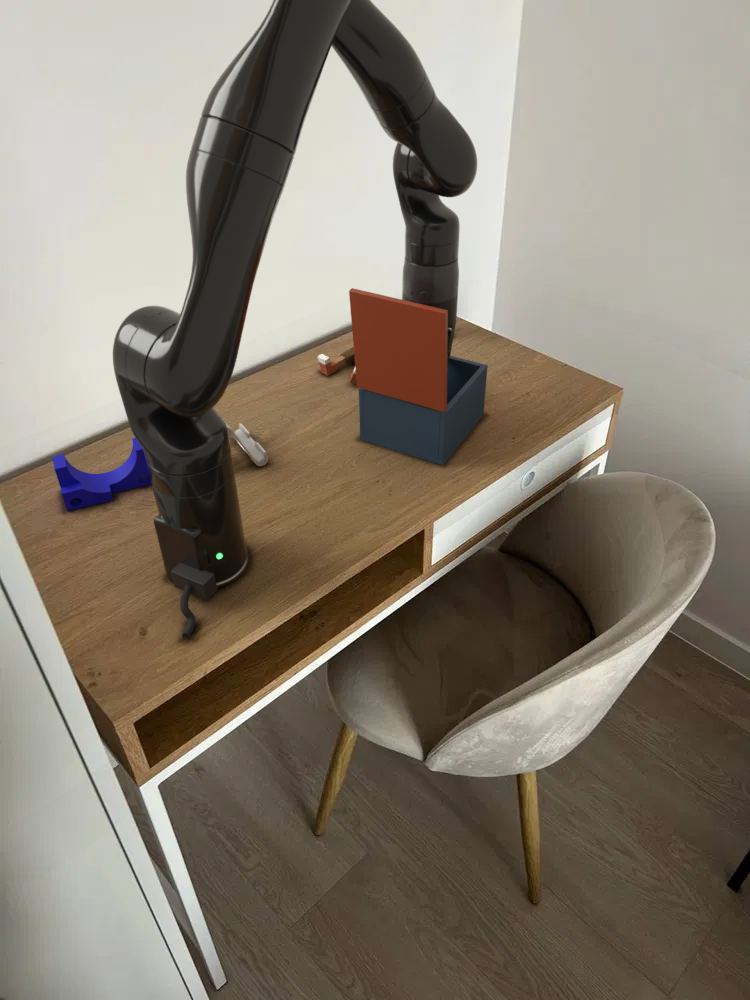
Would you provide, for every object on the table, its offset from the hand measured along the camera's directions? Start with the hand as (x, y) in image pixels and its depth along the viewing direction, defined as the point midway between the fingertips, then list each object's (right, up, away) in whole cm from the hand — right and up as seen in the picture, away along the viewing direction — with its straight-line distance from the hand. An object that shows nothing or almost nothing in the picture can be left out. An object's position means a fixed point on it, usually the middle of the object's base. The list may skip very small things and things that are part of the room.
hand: (426, 396), depth 120 cm
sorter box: (0, -4, +3) cm, 5 cm away
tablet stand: (-28, -9, -3) cm, 30 cm away
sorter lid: (-4, +4, -13) cm, 15 cm away
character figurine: (-8, +8, +19) cm, 22 cm away
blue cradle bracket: (-44, -14, -8) cm, 47 cm away
